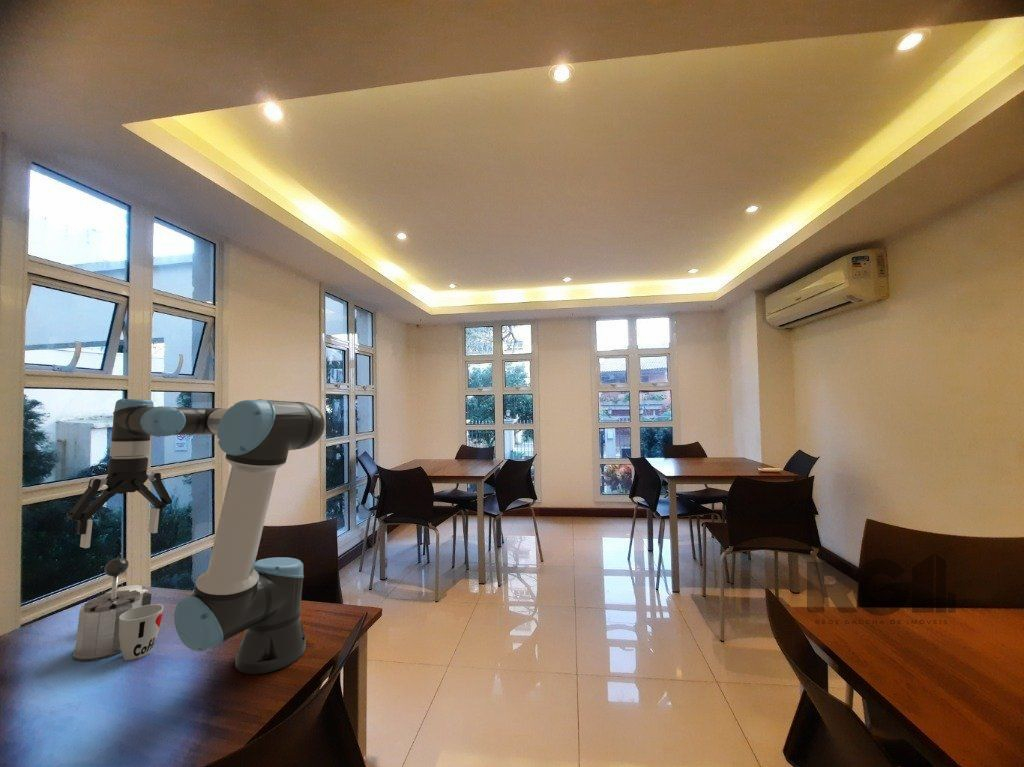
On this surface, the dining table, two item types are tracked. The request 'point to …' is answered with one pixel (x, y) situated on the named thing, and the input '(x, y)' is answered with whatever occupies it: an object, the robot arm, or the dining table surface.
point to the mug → (131, 589)
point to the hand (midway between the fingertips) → (120, 539)
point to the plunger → (116, 573)
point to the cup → (139, 630)
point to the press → (104, 624)
